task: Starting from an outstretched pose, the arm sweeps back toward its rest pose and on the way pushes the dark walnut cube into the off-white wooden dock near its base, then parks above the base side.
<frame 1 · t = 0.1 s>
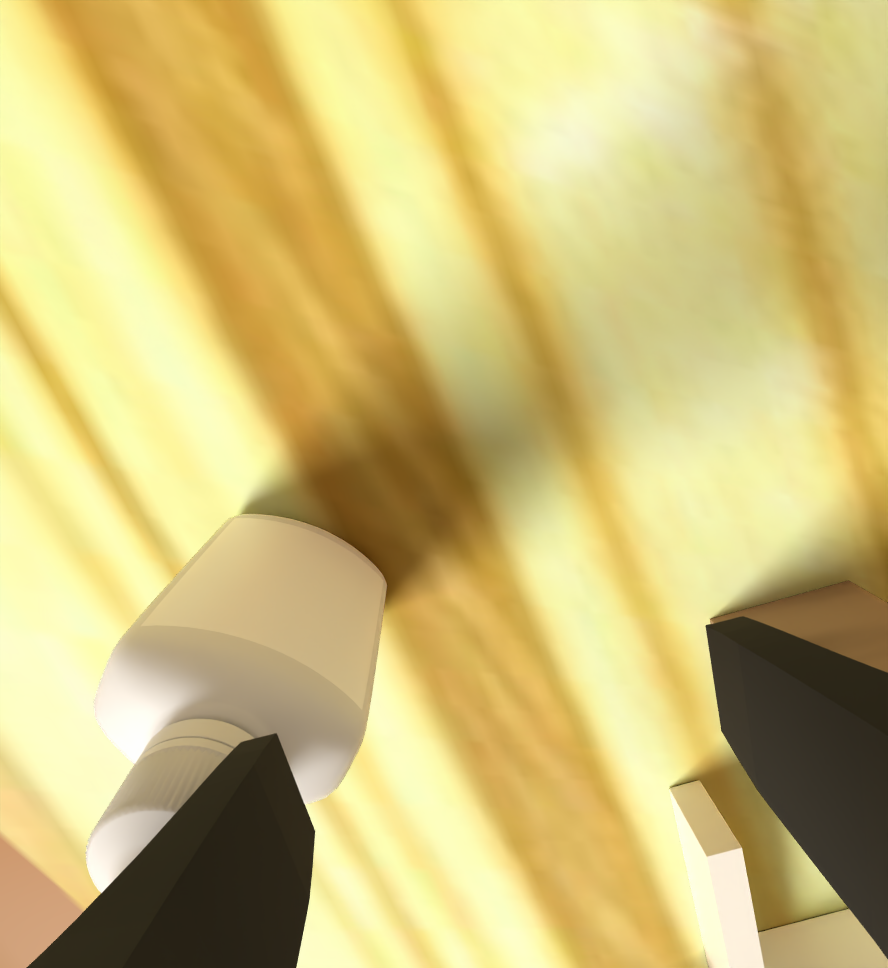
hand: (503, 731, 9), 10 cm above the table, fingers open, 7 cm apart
walnut cube: (786, 658, 21), on the table
dock: (811, 821, 23), on the table
eye dropper bottle: (303, 566, 19), on the table, touching gripper
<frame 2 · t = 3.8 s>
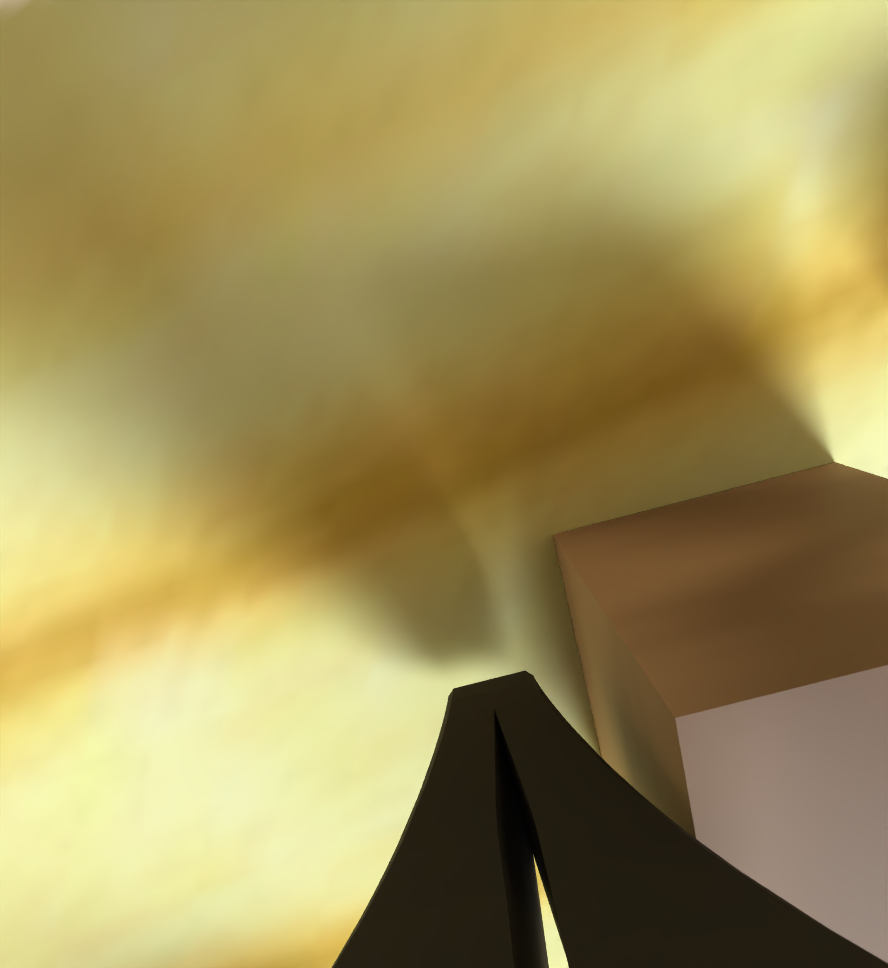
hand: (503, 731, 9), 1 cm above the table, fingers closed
walnut cube: (709, 622, 11), on the table, touching gripper
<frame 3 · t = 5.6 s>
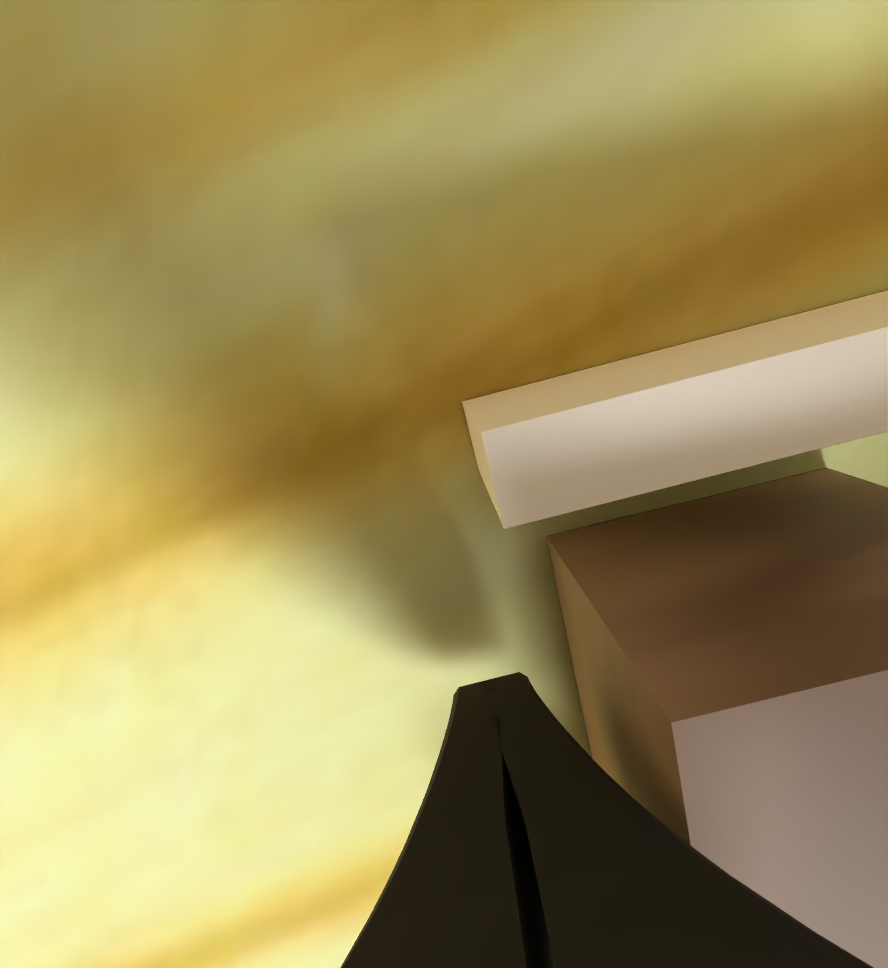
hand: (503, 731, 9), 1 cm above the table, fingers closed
walnut cube: (703, 628, 11), on the table, touching gripper
dock: (707, 628, 11), on the table
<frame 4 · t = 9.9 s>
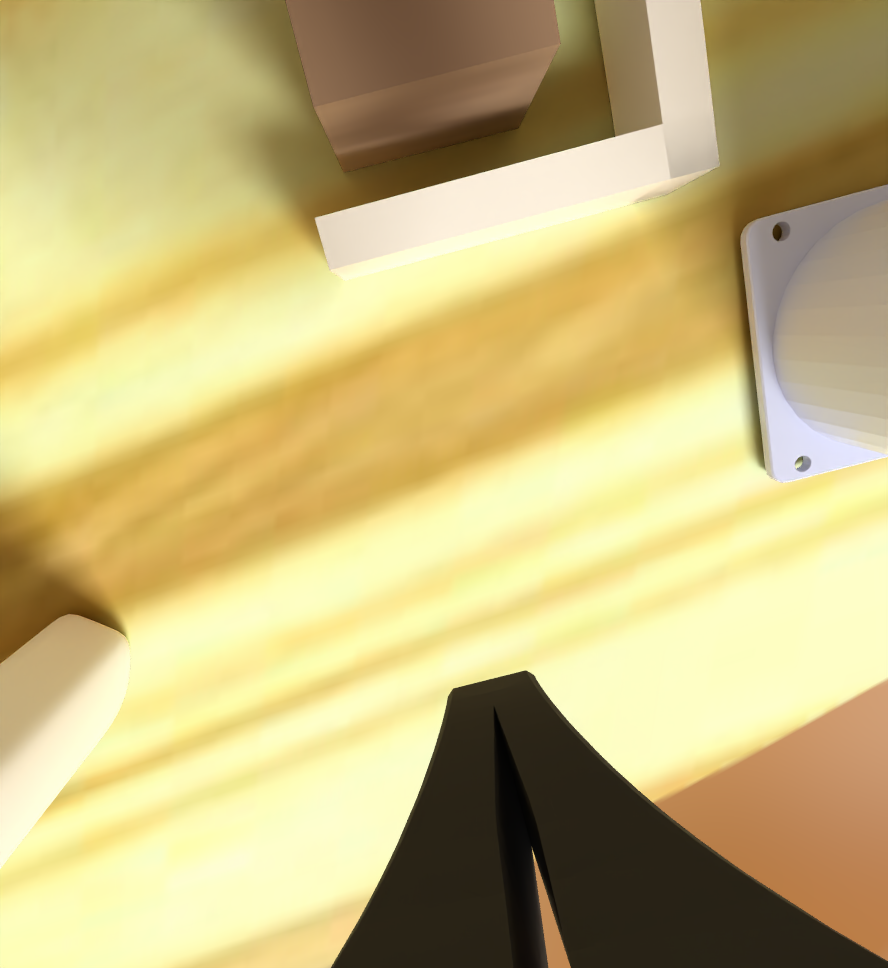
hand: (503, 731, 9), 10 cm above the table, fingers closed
walnut cube: (408, 50, 16), on the table
dock: (410, 47, 15), on the table
eye dropper bottle: (79, 680, 20), on the table
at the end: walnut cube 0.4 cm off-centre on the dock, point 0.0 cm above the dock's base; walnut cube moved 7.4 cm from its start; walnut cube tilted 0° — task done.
